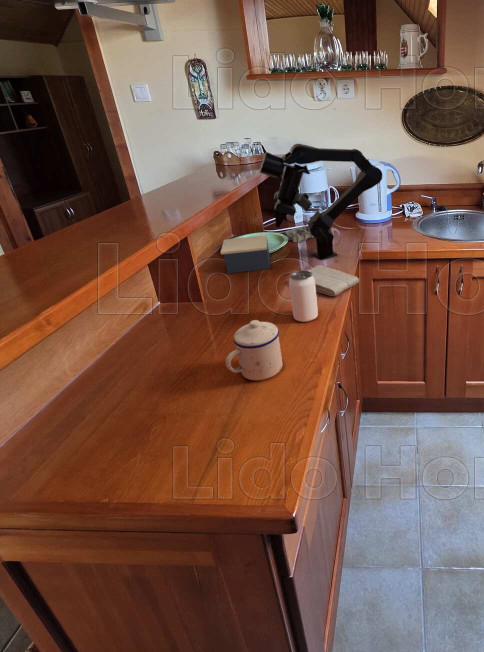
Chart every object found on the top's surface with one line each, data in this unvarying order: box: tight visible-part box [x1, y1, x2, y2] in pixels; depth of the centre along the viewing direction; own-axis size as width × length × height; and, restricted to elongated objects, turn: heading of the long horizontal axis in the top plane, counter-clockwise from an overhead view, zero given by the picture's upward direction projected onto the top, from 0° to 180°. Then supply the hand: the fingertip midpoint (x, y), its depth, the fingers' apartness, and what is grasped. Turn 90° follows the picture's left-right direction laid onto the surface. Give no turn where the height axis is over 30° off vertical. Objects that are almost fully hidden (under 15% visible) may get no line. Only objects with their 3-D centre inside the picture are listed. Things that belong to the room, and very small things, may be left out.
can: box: [288, 270, 319, 323], centre depth 108 cm, size 6×6×12 cm
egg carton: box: [285, 224, 314, 243], centre depth 167 cm, size 11×8×4 cm
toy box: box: [223, 240, 271, 274], centre depth 143 cm, size 14×13×7 cm
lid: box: [220, 235, 268, 255], centre depth 142 cm, size 14×13×1 cm
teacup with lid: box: [225, 319, 283, 381], centre depth 87 cm, size 12×9×12 cm
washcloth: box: [307, 264, 360, 297], centre depth 128 cm, size 12×18×3 cm, turn 54°
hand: (277, 226), depth 142 cm, fingers closed
